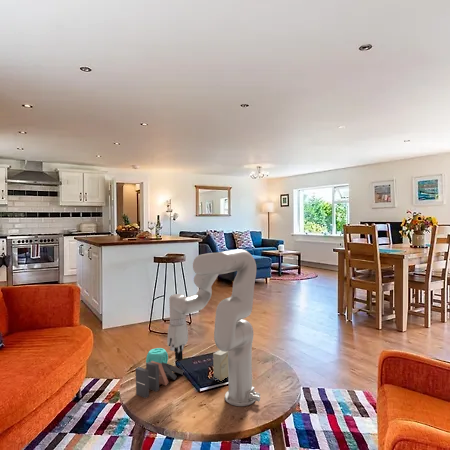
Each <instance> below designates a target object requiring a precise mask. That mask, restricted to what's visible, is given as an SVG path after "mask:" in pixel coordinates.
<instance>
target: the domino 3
mask: <svg viewBox="0 0 450 450" xmlns="http://www.w3.org/2000/svg"><path fill="white" fill-rule="evenodd" d="M151 362H152V363H155V364H158V365H159V385H163V386H165V387H166V386H167V385H168V384H169V383H170V382H169V380H168V378H167V377H166V375H165V372H164V369H163V367H162V364H161V363H158V362H154V361H151Z"/></svg>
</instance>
